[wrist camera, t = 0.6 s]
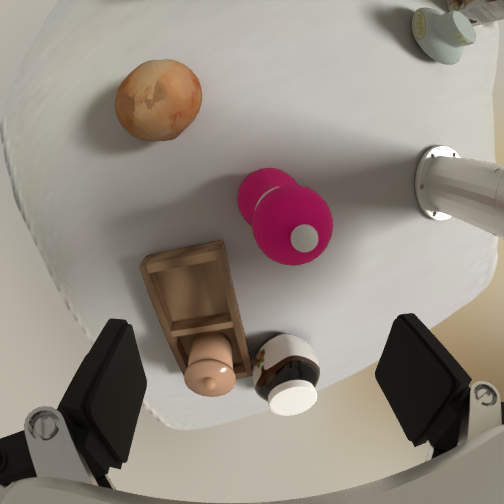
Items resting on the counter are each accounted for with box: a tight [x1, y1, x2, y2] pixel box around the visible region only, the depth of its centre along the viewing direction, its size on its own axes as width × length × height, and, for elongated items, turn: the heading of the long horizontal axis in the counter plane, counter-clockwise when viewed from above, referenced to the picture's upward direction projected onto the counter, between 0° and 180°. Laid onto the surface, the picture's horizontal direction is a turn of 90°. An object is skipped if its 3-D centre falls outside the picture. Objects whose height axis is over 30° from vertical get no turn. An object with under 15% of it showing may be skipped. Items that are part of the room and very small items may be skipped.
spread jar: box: [252, 334, 320, 416], centre depth 40 cm, size 12×11×12 cm
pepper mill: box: [238, 168, 333, 265], centre depth 26 cm, size 7×7×20 cm
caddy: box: [139, 240, 253, 379], centre depth 39 cm, size 11×22×4 cm, turn 10°
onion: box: [115, 60, 202, 141], centre depth 25 cm, size 10×10×10 cm
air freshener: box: [412, 8, 476, 65], centre depth 23 cm, size 11×8×10 cm
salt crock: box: [184, 330, 236, 397], centre depth 37 cm, size 7×7×9 cm
